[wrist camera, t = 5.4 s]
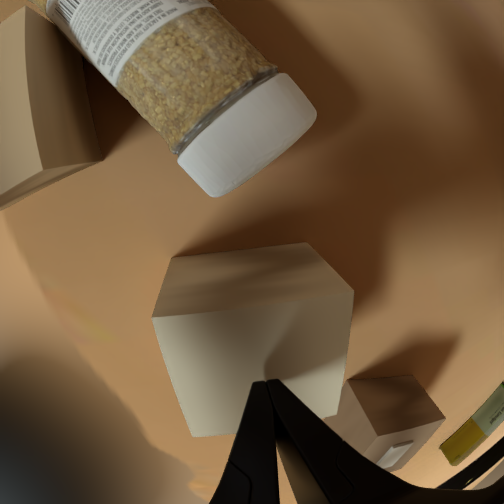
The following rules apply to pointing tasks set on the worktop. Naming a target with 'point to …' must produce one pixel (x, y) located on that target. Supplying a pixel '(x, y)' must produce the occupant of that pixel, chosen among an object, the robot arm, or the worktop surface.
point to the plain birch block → (252, 331)
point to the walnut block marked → (386, 419)
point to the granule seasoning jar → (190, 82)
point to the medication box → (475, 429)
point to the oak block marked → (41, 108)
